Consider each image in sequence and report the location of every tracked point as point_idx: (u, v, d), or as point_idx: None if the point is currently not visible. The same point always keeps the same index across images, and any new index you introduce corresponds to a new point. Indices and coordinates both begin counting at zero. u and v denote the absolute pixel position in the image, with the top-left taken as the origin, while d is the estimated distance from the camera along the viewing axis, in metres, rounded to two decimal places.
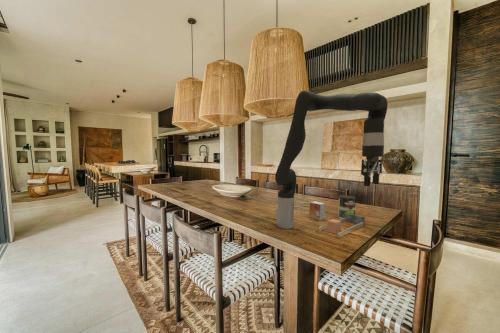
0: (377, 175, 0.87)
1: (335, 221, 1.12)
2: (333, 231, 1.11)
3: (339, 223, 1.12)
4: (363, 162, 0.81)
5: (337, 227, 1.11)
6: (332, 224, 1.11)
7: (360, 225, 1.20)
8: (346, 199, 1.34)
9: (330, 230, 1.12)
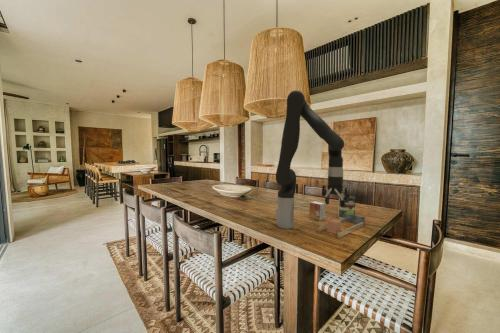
0: (328, 197, 1.16)
1: (335, 221, 1.12)
2: (333, 231, 1.11)
3: (339, 223, 1.12)
4: (347, 190, 1.06)
5: (337, 227, 1.11)
6: (332, 224, 1.11)
7: (360, 225, 1.20)
8: None
9: (330, 230, 1.12)
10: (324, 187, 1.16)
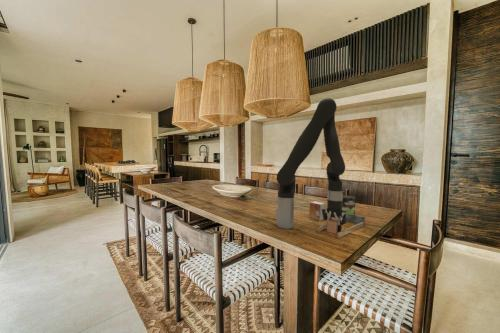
0: None
1: (335, 221, 1.12)
2: (333, 231, 1.11)
3: None
4: (346, 216, 1.08)
5: None
6: (332, 224, 1.11)
7: (360, 225, 1.20)
8: (346, 199, 1.34)
9: (330, 230, 1.12)
10: (324, 211, 1.17)
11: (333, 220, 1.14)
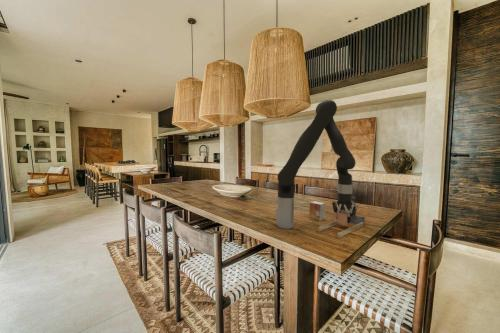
0: None
1: (345, 213, 1.18)
2: (343, 222, 1.17)
3: None
4: (355, 208, 1.14)
5: None
6: (342, 216, 1.18)
7: (360, 225, 1.20)
8: None
9: (340, 222, 1.19)
10: (334, 204, 1.23)
11: (343, 212, 1.20)
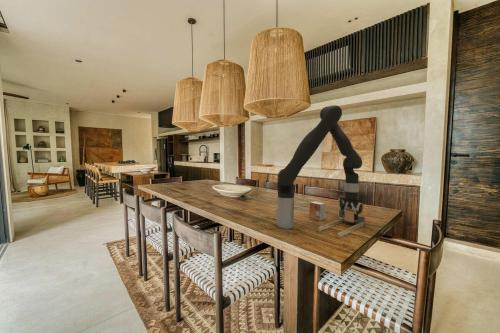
0: None
1: (352, 210, 1.24)
2: (350, 219, 1.23)
3: None
4: (362, 206, 1.19)
5: None
6: (349, 213, 1.23)
7: (360, 225, 1.20)
8: None
9: (347, 219, 1.24)
10: (341, 202, 1.28)
11: (350, 210, 1.25)
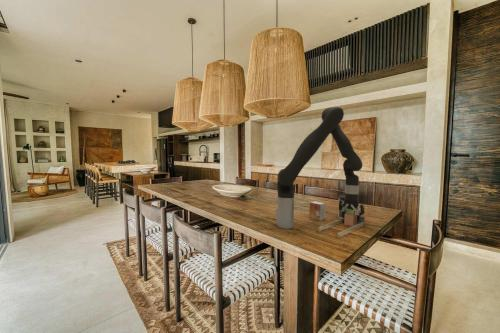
0: (344, 211, 1.29)
1: (352, 214, 1.24)
2: (350, 223, 1.23)
3: (355, 216, 1.24)
4: (363, 206, 1.19)
5: (354, 220, 1.23)
6: (349, 217, 1.23)
7: (360, 225, 1.20)
8: None
9: (347, 223, 1.24)
10: (341, 202, 1.29)
11: (350, 214, 1.26)
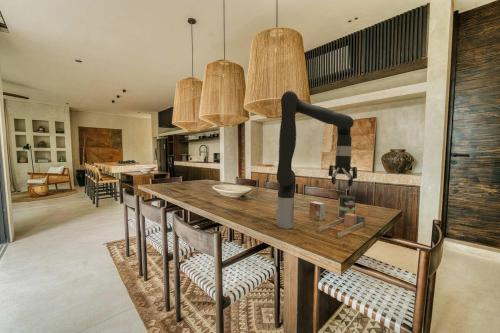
0: None
1: (352, 214, 1.24)
2: (350, 223, 1.23)
3: (355, 216, 1.24)
4: (355, 169, 1.06)
5: (354, 220, 1.23)
6: (349, 217, 1.23)
7: (360, 225, 1.20)
8: (346, 199, 1.34)
9: (347, 223, 1.24)
10: (331, 167, 1.15)
11: (350, 214, 1.26)
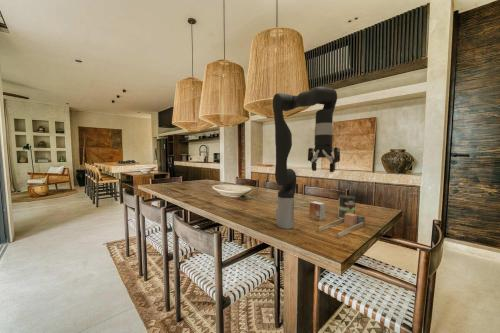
0: (315, 162, 0.96)
1: (352, 214, 1.24)
2: (350, 223, 1.23)
3: (355, 216, 1.24)
4: (337, 150, 0.87)
5: (354, 220, 1.23)
6: (349, 217, 1.23)
7: (360, 225, 1.20)
8: (346, 199, 1.34)
9: (347, 223, 1.24)
10: (310, 150, 0.96)
11: (350, 214, 1.26)
